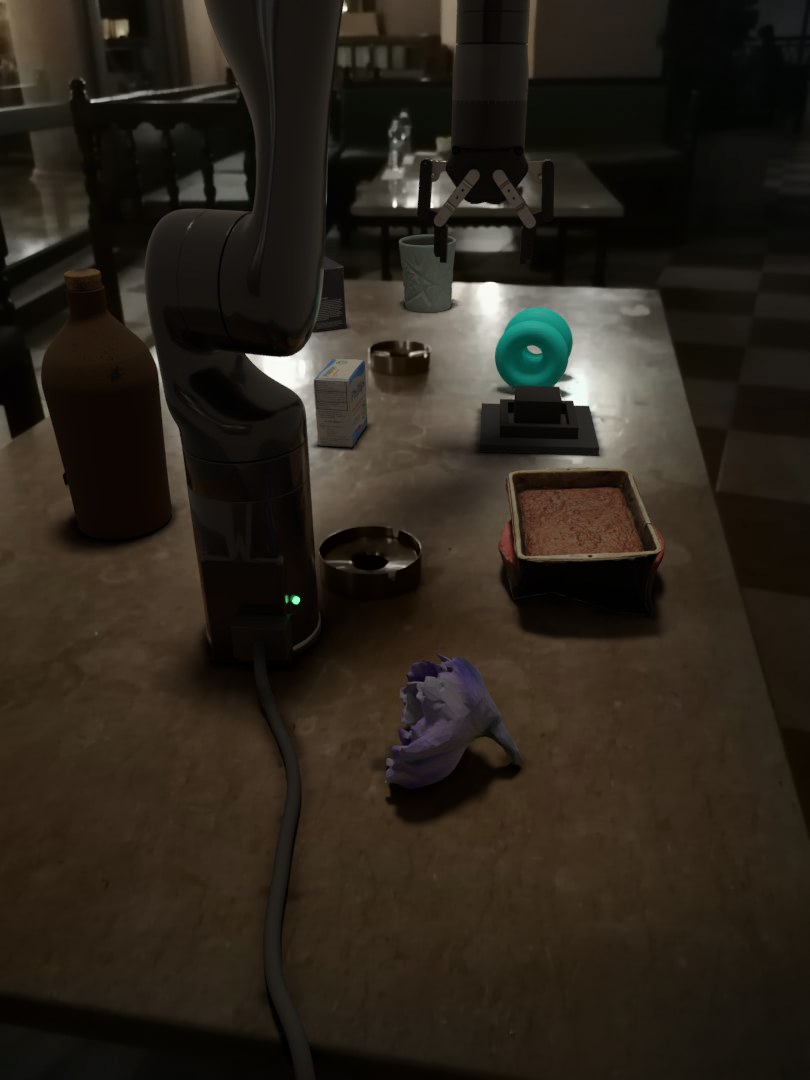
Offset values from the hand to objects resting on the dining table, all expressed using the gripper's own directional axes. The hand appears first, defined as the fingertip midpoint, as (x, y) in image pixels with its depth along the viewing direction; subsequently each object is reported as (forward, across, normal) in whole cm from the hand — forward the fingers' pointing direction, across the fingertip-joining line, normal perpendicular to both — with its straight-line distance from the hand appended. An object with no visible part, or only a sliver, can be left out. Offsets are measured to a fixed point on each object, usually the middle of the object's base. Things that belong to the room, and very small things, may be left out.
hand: (483, 262), depth 98 cm
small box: (+21, -29, +54) cm, 65 cm away
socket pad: (+22, +7, +7) cm, 24 cm away
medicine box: (+22, -17, +3) cm, 28 cm away
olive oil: (+23, -35, -21) cm, 47 cm away
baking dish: (+23, +10, -28) cm, 38 cm away
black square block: (+21, +7, +7) cm, 23 cm away
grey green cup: (+20, -11, +66) cm, 71 cm away
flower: (+23, 0, -53) cm, 58 cm away
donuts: (+21, +7, +25) cm, 33 cm away
